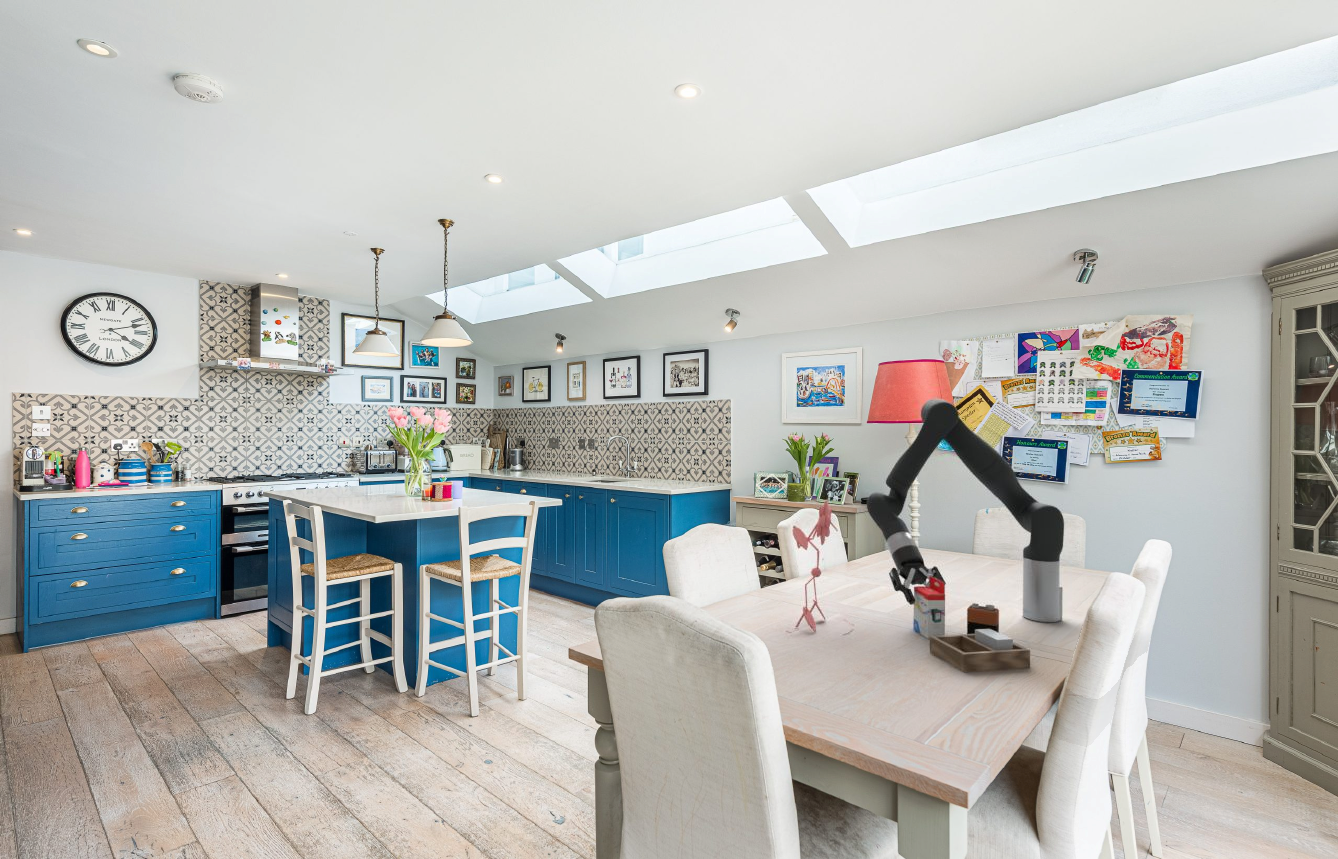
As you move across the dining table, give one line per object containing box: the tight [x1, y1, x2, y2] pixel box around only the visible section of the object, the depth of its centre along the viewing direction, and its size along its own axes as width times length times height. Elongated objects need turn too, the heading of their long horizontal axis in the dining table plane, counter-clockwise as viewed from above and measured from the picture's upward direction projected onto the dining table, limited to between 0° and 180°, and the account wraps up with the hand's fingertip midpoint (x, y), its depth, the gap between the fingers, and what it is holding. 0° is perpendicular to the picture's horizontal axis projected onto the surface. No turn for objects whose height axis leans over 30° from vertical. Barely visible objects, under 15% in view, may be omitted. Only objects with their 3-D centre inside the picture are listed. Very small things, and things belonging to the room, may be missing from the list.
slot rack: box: [929, 633, 1031, 673], centre depth 153 cm, size 17×13×4 cm
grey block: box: [975, 629, 1014, 651], centre depth 154 cm, size 4×8×6 cm, turn 11°
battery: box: [966, 602, 1000, 634], centre depth 165 cm, size 4×7×10 cm, turn 55°
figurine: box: [785, 499, 854, 636], centre depth 178 cm, size 15×26×35 cm, turn 151°
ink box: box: [912, 576, 946, 640], centre depth 173 cm, size 8×5×15 cm, turn 5°
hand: (927, 602), depth 174 cm, fingers open, 8 cm apart
